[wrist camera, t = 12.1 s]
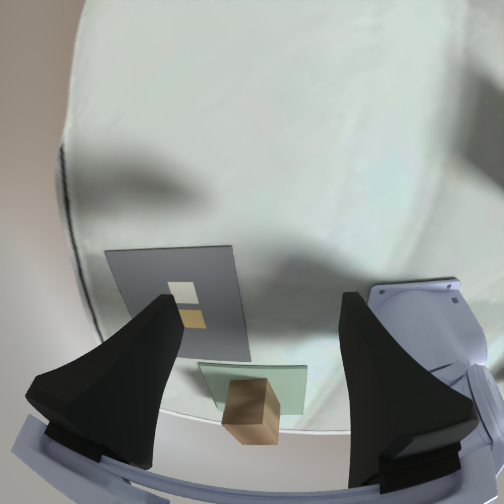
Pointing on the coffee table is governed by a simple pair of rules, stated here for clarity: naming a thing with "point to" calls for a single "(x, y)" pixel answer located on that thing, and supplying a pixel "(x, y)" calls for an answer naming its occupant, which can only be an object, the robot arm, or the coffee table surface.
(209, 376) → the mat
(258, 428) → the walnut block
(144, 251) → the grey flat rectangular plate
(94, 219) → the coffee table surface
